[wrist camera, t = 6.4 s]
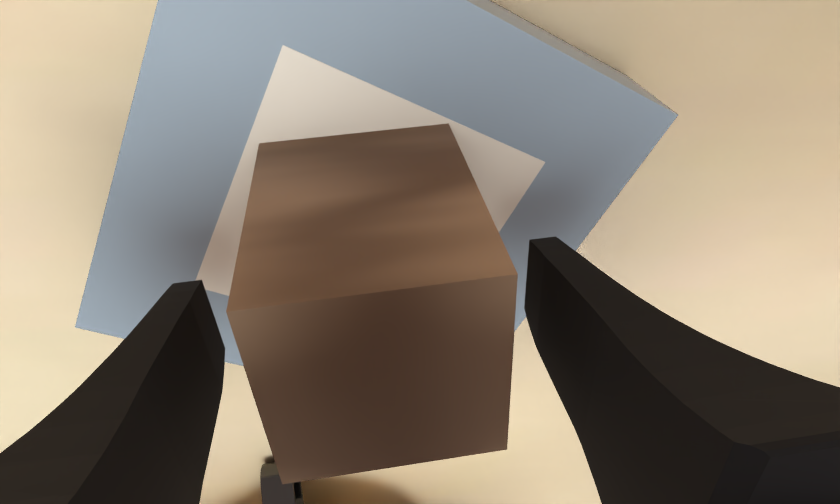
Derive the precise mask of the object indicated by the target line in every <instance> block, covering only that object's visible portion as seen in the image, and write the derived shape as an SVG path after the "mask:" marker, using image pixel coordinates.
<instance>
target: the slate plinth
mask: <svg viewBox="0 0 840 504" xmlns="http://www.w3.org/2000/svg"><path fill="white" fill-rule="evenodd" d="M677 116H678V114H676V113H675V112H674V111H672V110H671V109H670V108H669V107H667V106H666V105H665V104H663V103H662V102H661V101H659V100H658V99H657V98H655V97H654V96H653V95H651V94H650V93H649V92H648V91H646V90H645V89H644V88H642V87H641V86H640V85H638V84H637V83H636V82H634V81H633V80H632V79H631V78H629V77H628V76H626V75H624V74H623V73H621V72H619V71H617V70H615V69H614V68H612V67H610V66H608V65H606V64H604V63H603V62H601V61H599V60H597V59H595V58H594V57H592V56H590V55H588V54H586V53H584V52H583V51H581V50H579V49H577V48H575V47H574V46H572V45H570V44H568V43H566V42H564V41H563V40H561V39H559V38H557V37H555V36H554V35H552V34H550V33H548V32H546V31H544V30H543V29H541V28H539V27H537V26H535V25H534V24H532V23H530V22H528V21H526V20H524V19H523V18H521V17H519V16H517V15H515V14H514V13H512V12H510V11H508V10H506V9H504V8H503V7H501V6H499V5H497V4H495V3H494V2H492V1H490V0H158V3H157V7H156V11H155V14H154V18H153V22H152V26H151V30H150V34H149V38H148V42H147V46H146V50H145V54H144V58H143V62H142V66H141V70H140V73H139V77H138V81H137V85H136V89H135V93H134V97H133V101H132V105H131V109H130V113H129V117H128V121H127V125H126V129H125V133H124V136H123V140H122V144H121V148H120V152H119V156H118V160H117V164H116V168H115V172H114V176H113V180H112V184H111V188H110V192H109V196H108V199H107V203H106V207H105V211H104V215H103V219H102V223H101V227H100V231H99V235H98V239H97V243H96V247H95V251H94V255H93V259H92V262H91V266H90V270H89V274H88V278H87V282H86V286H85V290H84V294H83V298H82V302H81V306H80V310H79V314H78V318H77V322H76V325H75V327H76V328H80V329H84V330H89V331H93V332H97V333H102V334H106V335H111V336H115V337H119V338H124V339H125V338H126V337H127V336H128V335H129V333H130V332H131V331H132V330H133V329H134V328H135V327H136V326H137V324H138V323H139V322H140V321H141V320H142V319H143V317H144V316H145V315H146V314H147V313H148V311H149V310H150V309H151V308H152V307H153V306H154V304H155V303H156V302H157V301H158V300H159V298H160V297H161V296H162V295H163V294H164V293H165V291H166V290H167V289H168V288H169V287H170V286H171V285H172V284H173V283H179V282H188V281H196V280H202V282H203V285H204V287H205V290H206V293H207V296H208V299H209V302H210V305H211V308H212V311H213V314H214V317H215V320H216V323H217V326H218V328H219V331H220V334H221V337H222V340H223V343H224V346H225V362H228V363H232V364H237V365H241V366H244V365H243V362H242V359H241V356H240V353H239V350H238V347H237V344H236V341H235V338H234V335H233V332H232V329H231V325H230V322H229V319H228V316H227V313H226V309H227V304H228V299H229V294H230V289H231V284H232V279H233V274H234V269H235V263H236V258H237V253H238V248H239V243H240V238H241V233H242V228H243V223H244V217H245V212H246V207H247V202H248V197H249V192H250V187H251V182H252V177H253V172H254V166H255V161H256V156H257V151H258V146H259V143H267V142H276V141H286V140H295V139H305V138H314V137H324V136H333V135H343V134H352V133H362V132H371V131H381V130H390V129H400V128H409V127H419V126H428V125H438V124H448V123H449V125H450V128H451V130H452V132H453V134H454V136H455V139H456V141H457V143H458V145H459V147H460V149H461V152H462V154H463V156H464V158H465V160H466V162H467V165H468V167H469V169H470V171H471V173H472V176H473V178H474V180H475V182H476V184H477V186H478V189H479V191H480V193H481V195H482V197H483V199H484V202H485V204H486V206H487V208H488V210H489V213H490V215H491V217H492V219H493V221H494V223H495V226H496V228H497V230H498V232H499V234H500V236H501V239H502V241H503V243H504V245H505V247H506V250H507V252H508V254H509V256H510V258H511V260H512V263H513V265H514V267H515V269H516V271H517V273H518V279H517V295H516V311H515V327H514V332H515V330H516V329H517V328H518V326H519V325H520V324H521V322H522V321H523V320H524V318H525V317H526V313H525V310H524V303H525V290H526V277H527V264H528V251H529V240H530V239H539V238H547V237H555V236H556V237H557V238H559V239H560V240H561V241H563V242H564V243H565V244H567V245H568V246H569V247H571V248H572V249H573V250H575V251H576V250H577V248H578V247H579V246H580V244H581V243H582V242H583V240H584V239H585V238H586V236H587V235H588V234H589V232H590V231H591V230H592V228H593V227H594V226H595V224H596V223H597V222H598V220H599V219H600V218H601V216H602V215H603V214H604V213H605V211H606V210H607V209H608V207H609V206H610V205H611V203H612V202H613V201H614V199H615V198H616V197H617V195H618V194H619V193H620V191H621V190H622V189H623V187H624V186H625V185H626V183H627V182H628V181H629V179H630V178H631V177H632V175H633V174H634V173H635V172H636V170H637V169H638V168H639V166H640V165H641V164H642V162H643V161H644V160H645V158H646V157H647V156H648V154H649V153H650V152H651V150H652V149H653V148H654V146H655V145H656V144H657V142H658V141H659V140H660V138H661V137H662V136H663V134H664V133H665V132H666V131H667V129H668V128H669V127H670V125H671V124H672V123H673V121H674V120H675V119H676V117H677Z"/></svg>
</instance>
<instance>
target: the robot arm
mask: <svg viewBox="0 0 840 504" xmlns="http://www.w3.org/2000/svg"><path fill="white" fill-rule="evenodd" d="M524 310H525V313H526V317H527V320H528V323H529V326H530V330H531V333H532V336H533V339H534V342H535V345H536V347H537V350H538V352H539V354H540V356H541V358H542V360H543V363H544V365H545V367H546V369H547V371H548V373H549V375H550V378H551V380H552V382H553V384H554V386H555V388H556V390H557V392H558V394H559V396H560V398H561V401H562V403H563V405H564V407H565V409H566V411H567V413H568V415H569V417H570V419H571V422H572V424H573V426H574V428H575V430H576V433H577V435H578V437H579V440H580V442H581V445H582V447H583V450H584V453H585V456H586V459H587V461H588V464H589V467H590V470H591V473H592V476H593V478H594V481H595V484H596V487H597V490H598V493H599V496H600V499H601V502H602V504H840V387H836V386H833V385H830V384H826V383H823V382H820V381H816V380H814V379H811V378H808V377H805V376H802V375H799V374H797V373H794V372H791V371H788V370H785V369H783V368H780V367H777V366H774V365H772V364H769V363H767V362H764V361H762V360H759V359H757V358H754V357H752V356H750V355H747V354H745V353H743V352H741V351H738V350H736V349H734V348H732V347H729V346H727V345H725V344H723V343H720V342H718V341H716V340H714V339H712V338H710V337H708V336H706V335H704V334H702V333H700V332H698V331H696V330H694V329H692V328H691V327H689V326H687V325H685V324H683V323H681V322H679V321H677V320H676V319H674V318H672V317H670V316H669V315H667V314H665V313H663V312H662V311H660V310H659V309H657V308H655V307H654V306H652V305H651V304H649V303H648V302H646V301H644V300H643V299H641V298H640V297H638V296H636V295H635V294H634V293H632V292H631V291H629V290H628V289H626V288H625V287H623V286H622V285H620V284H619V283H618V282H616V281H615V280H613V279H612V278H611V277H609V276H608V275H606V274H605V273H604V272H602V271H601V270H600V269H598V268H597V267H596V266H594V265H593V264H592V263H590V262H589V261H588V260H586V259H585V258H584V257H582V256H581V255H580V254H579V253H577V252H576V251H575V250H573V249H572V248H571V247H569V246H568V245H567V244H565V243H564V242H563V241H561V240H560V239H559V238H557V237H556V236H555V237H547V238H539V239H530V240H529V251H528V264H527V277H526V290H525V303H524ZM224 362H225V346H224V343H223V340H222V337H221V334H220V331H219V328H218V326H217V323H216V320H215V317H214V314H213V311H212V308H211V305H210V302H209V299H208V296H207V293H206V290H205V287H204V285H203V282H202V280H196V281H188V282H179V283H173V284H172V285H171V286H170V287H169V288H168V289H167V290H166V291H165V293H164V294H163V295H162V296H161V297H160V298H159V300H158V301H157V302H156V303H155V304H154V306H153V307H152V308H151V309H150V310H149V311H148V313H147V314H146V315H145V316H144V317H143V319H142V320H141V321H140V322H139V323H138V324H137V326H136V327H135V328H134V329H133V330H132V331H131V332H130V333H129V335H128V336H127V337H126V338H125V339H124V340H123V341H122V343H121V344H120V345H119V346H118V347H117V348H116V349H115V350H114V351H113V352H112V353H111V355H110V356H109V357H108V358H107V359H106V360H105V361H104V362H103V363H102V364H101V365H100V366H99V367H98V368H97V369H96V370H95V371H94V372H93V373H92V374H91V375H90V376H89V377H88V378H87V379H86V380H85V381H84V382H83V383H82V384H81V385H80V386H79V387H78V388H77V389H76V390H75V391H74V392H73V393H72V394H71V395H70V396H69V397H68V398H67V399H66V400H64V401H63V402H62V403H61V404H60V405H59V406H58V407H57V408H55V409H54V410H53V411H52V412H51V413H50V414H49V415H47V416H46V417H45V418H44V419H43V420H42V421H41V422H39V423H38V424H37V425H36V426H35V427H33V428H32V429H31V430H30V431H29V432H27V433H26V434H25V435H23V436H22V437H21V438H19V439H18V440H17V441H16V442H14V443H13V444H12V445H10V446H9V447H8V448H6V449H5V450H4V451H3V452H1V453H0V504H199V502H200V496H201V490H202V484H203V479H204V475H205V470H206V465H207V461H208V456H209V451H210V447H211V442H212V438H213V433H214V428H215V424H216V419H217V414H218V409H219V404H220V400H221V394H222V388H223V377H224Z"/></svg>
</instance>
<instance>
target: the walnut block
mask: <svg viewBox="0 0 840 504" xmlns="http://www.w3.org/2000/svg"><path fill="white" fill-rule="evenodd" d="M517 279H518V273H517V271H516V269H515V267H514V265H513V263H512V260H511V258H510V256H509V254H508V252H507V250H506V247H505V245H504V243H503V241H502V239H501V236H500V234H499V232H498V230H497V228H496V226H495V223H494V221H493V219H492V217H491V215H490V213H489V210H488V208H487V206H486V204H485V202H484V199H483V197H482V195H481V193H480V191H479V189H478V186H477V184H476V182H475V180H474V178H473V176H472V173H471V171H470V169H469V167H468V165H467V162H466V160H465V158H464V156H463V154H462V152H461V149H460V147H459V145H458V143H457V141H456V139H455V136H454V134H453V132H452V130H451V128H450V125H449V123H448V124H438V125H428V126H419V127H409V128H400V129H390V130H381V131H371V132H362V133H352V134H343V135H333V136H324V137H314V138H305V139H295V140H286V141H276V142H267V143H259V146H258V151H257V156H256V161H255V166H254V172H253V177H252V182H251V187H250V192H249V197H248V202H247V207H246V212H245V217H244V223H243V228H242V233H241V238H240V243H239V248H238V253H237V258H236V263H235V269H234V274H233V279H232V284H231V289H230V294H229V299H228V304H227V309H226V313H227V316H228V319H229V322H230V325H231V329H232V332H233V335H234V338H235V341H236V344H237V347H238V350H239V353H240V356H241V359H242V362H243V365H244V368H245V371H246V374H247V378H248V381H249V384H250V387H251V390H252V393H253V396H254V399H255V402H256V405H257V408H258V411H259V414H260V417H261V420H262V423H263V427H264V430H265V433H266V436H267V439H268V442H269V445H270V448H271V451H272V454H273V457H274V460H275V463H276V466H277V469H278V472H279V476H280V479H281V482H282V484H288V483H294V482H301V481H307V480H314V479H320V478H326V477H333V476H339V475H346V474H352V473H359V472H365V471H371V470H378V469H384V468H391V467H397V466H404V465H410V464H416V463H423V462H429V461H436V460H442V459H449V458H455V457H461V456H468V455H474V454H481V453H487V452H493V451H500V450H506V449H507V440H508V424H509V408H510V392H511V375H512V359H513V343H514V327H515V311H516V295H517Z"/></svg>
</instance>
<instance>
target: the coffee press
mask: <svg viewBox="0 0 840 504" xmlns="http://www.w3.org/2000/svg"><path fill="white" fill-rule="evenodd" d="M261 492H262V502H263V504H304V500H303V494H302V488H301V482H294V483H288V484H282V482H281V479H280V476H279V472H278V469H277V466H276V463H275V462H273V463H268V464H263V465H262V468H261Z"/></svg>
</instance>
